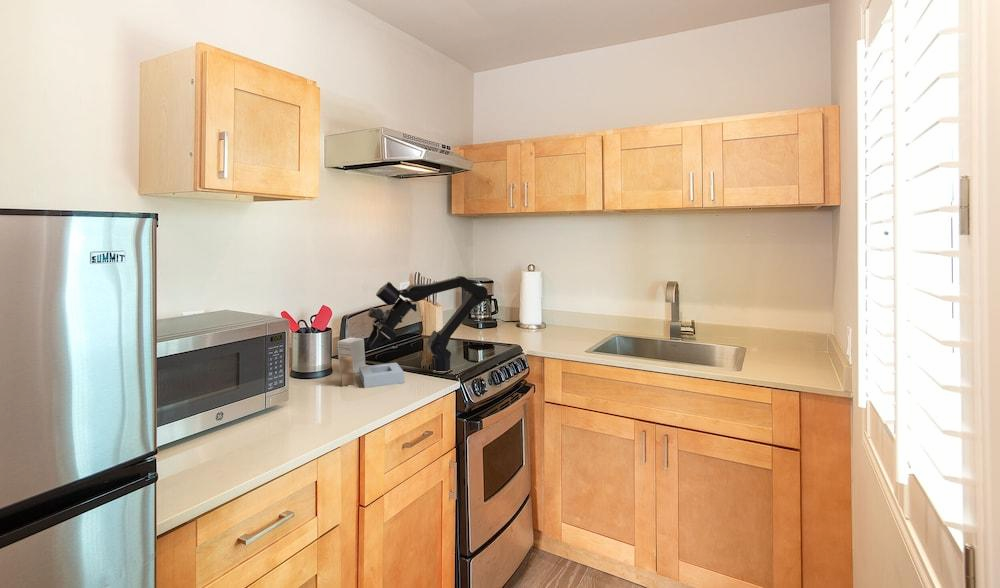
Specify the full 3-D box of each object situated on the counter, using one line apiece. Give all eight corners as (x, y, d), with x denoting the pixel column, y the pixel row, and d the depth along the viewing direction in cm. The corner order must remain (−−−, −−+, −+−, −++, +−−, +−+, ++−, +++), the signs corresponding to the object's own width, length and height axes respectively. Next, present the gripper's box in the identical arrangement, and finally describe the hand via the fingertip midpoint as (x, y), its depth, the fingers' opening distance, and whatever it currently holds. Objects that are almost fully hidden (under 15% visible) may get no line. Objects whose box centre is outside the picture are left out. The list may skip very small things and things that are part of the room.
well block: (397, 372, 186) (396, 362, 186) (404, 382, 174) (404, 371, 173) (359, 377, 181) (359, 367, 180) (364, 388, 168) (364, 377, 168)
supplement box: (352, 367, 195) (350, 336, 193) (366, 369, 191) (364, 338, 190) (338, 372, 188) (336, 340, 186) (352, 374, 185) (351, 342, 183)
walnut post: (352, 382, 175) (351, 355, 174) (354, 385, 172) (352, 358, 170) (341, 383, 174) (339, 356, 172) (342, 386, 170) (340, 359, 169)
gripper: (376, 296, 182) (348, 327, 180) (384, 302, 165) (353, 337, 163) (398, 314, 187) (371, 345, 184) (408, 322, 169) (379, 357, 167)
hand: (368, 346), depth 174 cm, fingers open, 9 cm apart
